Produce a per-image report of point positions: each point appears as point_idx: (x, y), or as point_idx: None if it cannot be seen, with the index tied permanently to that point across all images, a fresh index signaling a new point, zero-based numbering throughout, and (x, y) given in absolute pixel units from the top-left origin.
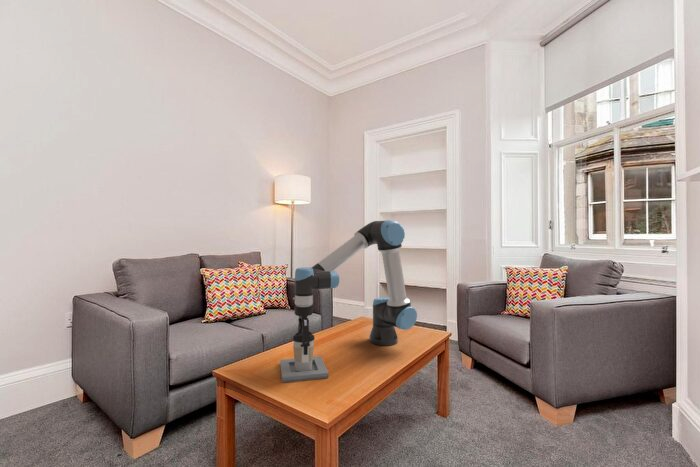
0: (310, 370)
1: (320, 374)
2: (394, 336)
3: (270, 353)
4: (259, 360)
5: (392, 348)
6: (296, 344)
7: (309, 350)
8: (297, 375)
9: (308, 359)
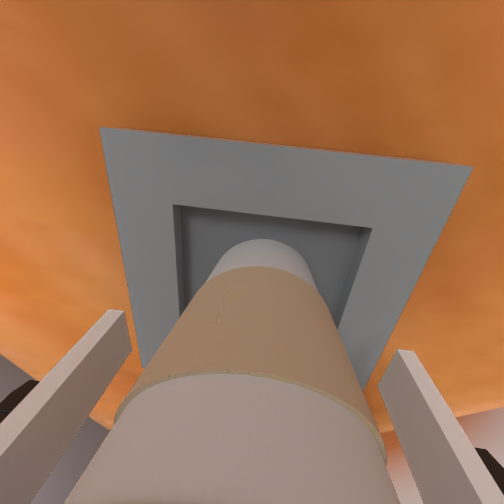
0: (302, 254)
1: (438, 227)
2: None
3: (22, 354)
4: (104, 395)
5: None
6: None
7: (367, 405)
8: (378, 348)
9: (425, 372)
